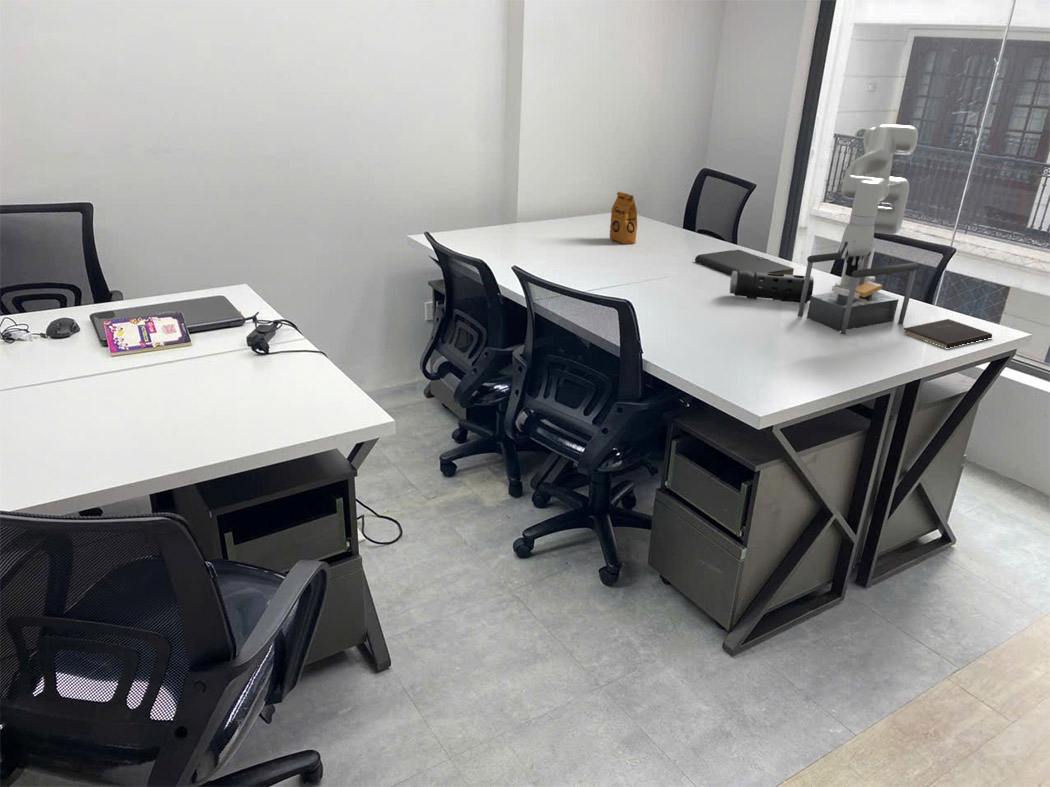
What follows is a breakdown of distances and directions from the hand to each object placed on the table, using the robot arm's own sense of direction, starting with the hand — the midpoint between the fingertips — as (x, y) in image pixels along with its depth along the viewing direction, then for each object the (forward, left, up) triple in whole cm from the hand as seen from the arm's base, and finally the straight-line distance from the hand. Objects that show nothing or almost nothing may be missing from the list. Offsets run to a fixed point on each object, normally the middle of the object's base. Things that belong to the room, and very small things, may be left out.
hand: (850, 275), depth 256 cm
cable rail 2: (-4, +10, -16) cm, 19 cm away
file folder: (-14, -65, -17) cm, 69 cm away
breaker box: (-4, 0, -16) cm, 17 cm away
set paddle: (+1, 0, -6) cm, 6 cm away
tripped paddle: (-9, 0, -6) cm, 11 cm away
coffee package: (+9, -122, -16) cm, 124 cm away
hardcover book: (-22, +24, -17) cm, 37 cm away
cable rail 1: (-4, -9, -16) cm, 19 cm away
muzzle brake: (+7, -28, -16) cm, 33 cm away
